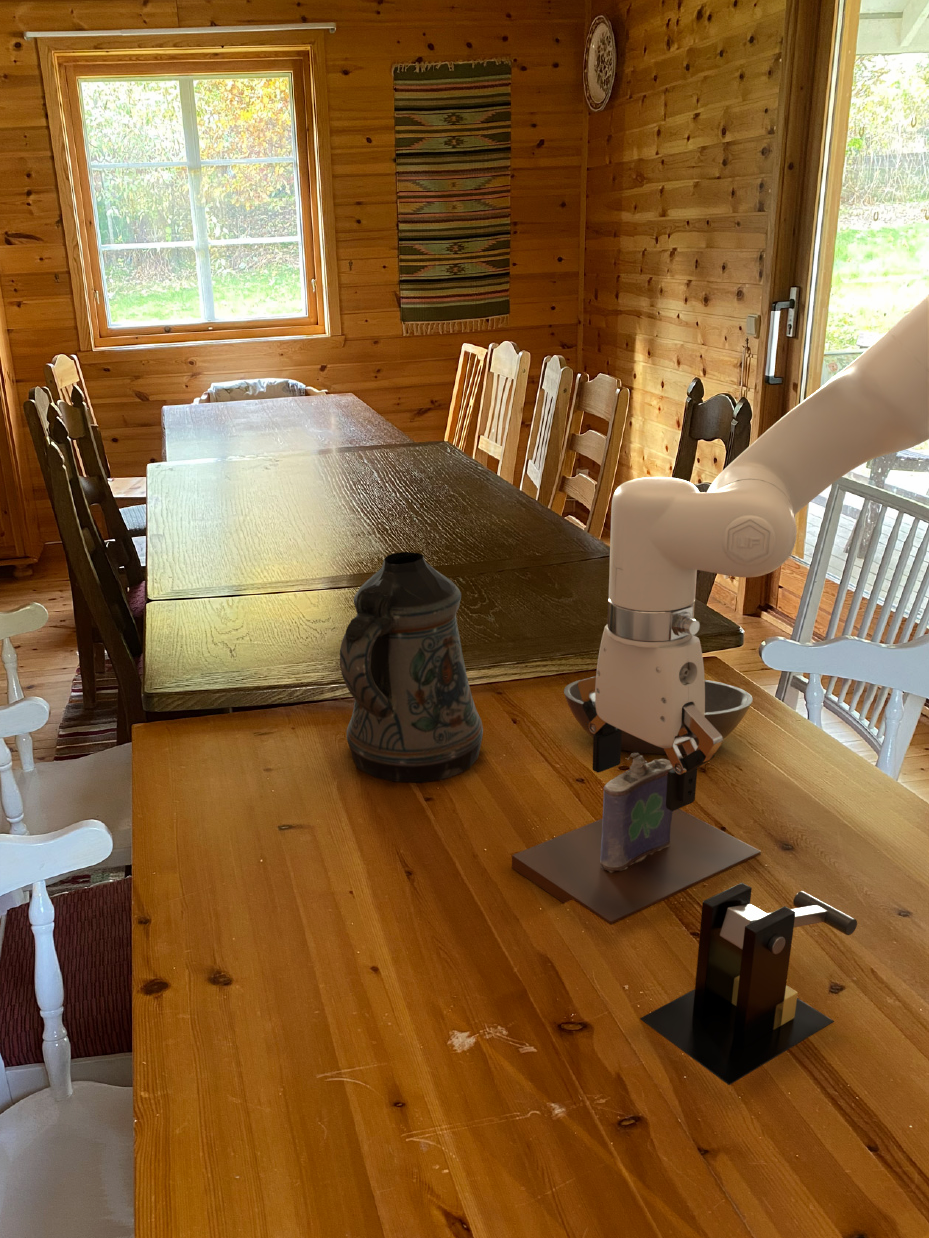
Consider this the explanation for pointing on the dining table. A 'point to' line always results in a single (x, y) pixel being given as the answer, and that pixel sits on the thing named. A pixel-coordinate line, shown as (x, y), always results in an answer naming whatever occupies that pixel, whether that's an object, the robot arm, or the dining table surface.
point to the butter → (787, 1007)
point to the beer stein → (409, 676)
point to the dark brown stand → (746, 1030)
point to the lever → (806, 914)
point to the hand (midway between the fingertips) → (642, 786)
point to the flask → (635, 814)
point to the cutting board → (630, 867)
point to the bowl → (720, 710)
